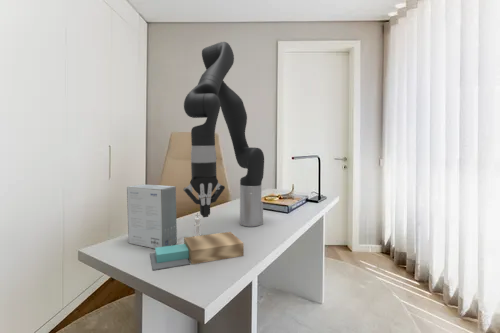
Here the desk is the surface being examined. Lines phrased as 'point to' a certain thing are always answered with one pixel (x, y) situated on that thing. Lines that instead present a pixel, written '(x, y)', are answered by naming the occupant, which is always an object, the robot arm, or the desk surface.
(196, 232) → the chess piece
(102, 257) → the desk surface
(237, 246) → the tan wooden flat box
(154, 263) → the mat
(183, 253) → the block
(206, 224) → the desk surface
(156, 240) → the hard drive box
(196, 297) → the desk surface
